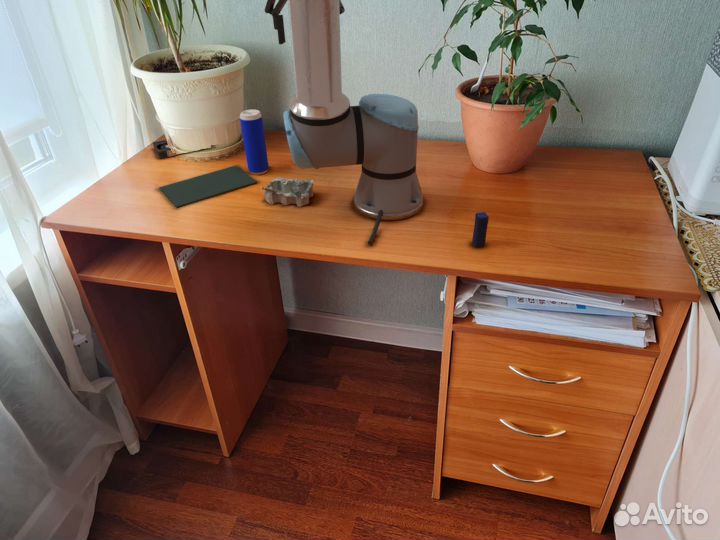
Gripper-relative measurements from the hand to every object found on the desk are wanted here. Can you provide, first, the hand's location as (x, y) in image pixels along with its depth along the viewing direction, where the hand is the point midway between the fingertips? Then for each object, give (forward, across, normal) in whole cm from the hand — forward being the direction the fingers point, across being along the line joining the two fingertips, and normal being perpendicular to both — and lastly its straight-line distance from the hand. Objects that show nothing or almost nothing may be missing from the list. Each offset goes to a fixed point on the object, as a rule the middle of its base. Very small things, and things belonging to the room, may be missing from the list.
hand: (307, 44), depth 134 cm
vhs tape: (+26, +34, +14) cm, 45 cm away
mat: (+26, +16, +33) cm, 45 cm away
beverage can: (+26, +7, +23) cm, 35 cm away
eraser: (+26, -50, +45) cm, 72 cm away
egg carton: (+26, -6, +35) cm, 44 cm away
